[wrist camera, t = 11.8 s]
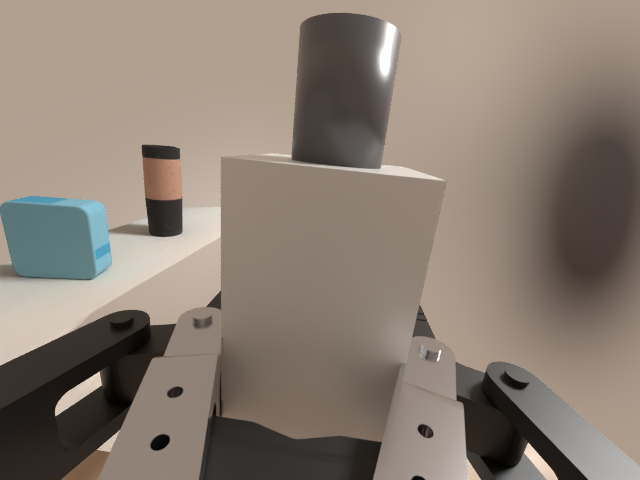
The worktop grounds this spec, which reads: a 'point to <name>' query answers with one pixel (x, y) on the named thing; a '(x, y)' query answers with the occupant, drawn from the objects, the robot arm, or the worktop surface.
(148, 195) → the travel mug
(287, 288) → the plug
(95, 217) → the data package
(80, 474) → the brown square frame
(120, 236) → the worktop surface
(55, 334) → the worktop surface
